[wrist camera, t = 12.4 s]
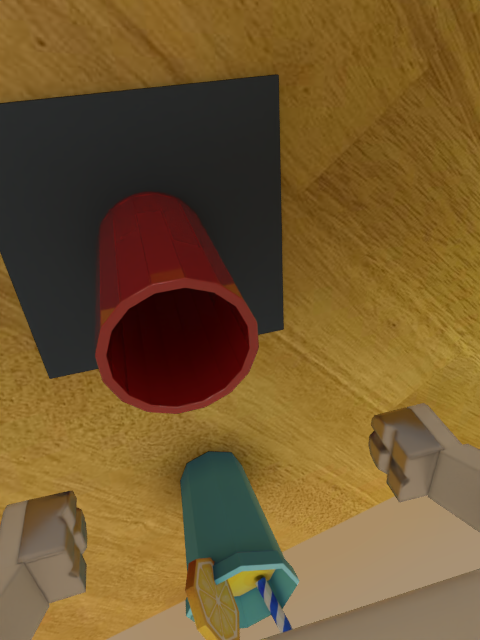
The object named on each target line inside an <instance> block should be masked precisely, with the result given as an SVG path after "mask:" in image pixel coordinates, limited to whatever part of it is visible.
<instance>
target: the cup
mask: <svg viewBox="0 0 480 640" xmlns="http://www.w3.org/2000/svg"><path fill="white" fill-rule="evenodd" d="M180 482H181V495H182V508H183V522H184V535H185V548H186V561H187V580H186V588H185V591H186V595H187V598H186V616H187V617H188V618H190V619H191V620H193V621H194V622H195V624H196V627H197V630H198V631H199V632H200V633H201V634H202V636H203V637H204V638H205V639H206V640H240V639H239V638H240V637H239V628H248V627H249V626H251V625H253V624H255V623H257V622H259V621H261V620H262V619H264V618H266V617H268V616H270V615H272V617H273V619H274V621H275V623H276V625H277V627H278V628H279V630H280V632H281V633H283V632H286V631H289V630H292V627H291V625H290V623H289V621H288V619H287V617H286V616H285V614H284V612H283V610H282V609H283V607H284V605H285V603H286V602H287V601H288V599H289V597H290V596H291V594H292V593H293V591H294V589H295V588H296V586H297V584H298V582H299V579H298V577H297V575H296V573H295V571H294V570H293V568H292V566H291V565H289V563H288V562H287V561H286V560H285V559H284V557H283V554H282V552H281V550H280V548H279V546H278V543H277V541H276V539H275V537H274V535H273V532H272V530H271V528H270V526H269V524H268V522H267V519H266V517H265V515H264V513H263V511H262V509H261V506H260V504H259V502H258V500H257V498H256V495H255V493H254V491H253V489H252V487H251V485H250V482H249V480H248V478H247V476H246V474H245V471H244V469H243V467H242V465H241V464H240V463H239V461H238V460H237V459H236V458H235V456H234V455H233V454H232V453H231V452H209V451H208V452H207V453H205V454H203V455H201V456H199V457H198V458H196V459H194V460H192V461H190V462H189V463H187V465H186V467H185V470H184V472H183V475H182V478H181V480H180Z"/></svg>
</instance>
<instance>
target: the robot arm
mask: <svg viewBox="0 0 480 640" xmlns="http://www.w3.org/2000/svg"><path fill="white" fill-rule="evenodd" d="M371 426H372V428H373V429H374V431H373V433H372V434H371V435H370V436H369V449H370V454H371V457H372V459H373V461H374V463H375V465H376V466H377V468H378V469H379V470H381V471H383V472H384V473H386V474H387V484H388V485H389V487H390V489H391V490H392V492H393V493H394V495H395V496H396V498H397V499H398V501H399V502H403V501H407V500H411V499H415V498H419V497H422V496H427V495H428V497H429V498H430V499H432V500H433V501H435V502H436V503H437V504H439V505H440V506H442V507H443V508H445V509H446V510H448V511H449V512H451V513H452V514H454V515H455V516H456V517H458V518H459V519H461V520H462V521H464V522H465V523H467V524H468V525H470V526H471V527H472V528H474V529H475V530H477V531H478V532H480V449H477V448H475V447H473V446H471V445H469V444H464V445H462V444H461V443H460V441H459V440H458V439H457V438H456V437H455V436H454V435H453V433H452V432H451V431H450V430H449V429H448V428H447V427H446V426H445V424H444V423H443V422H442V421H441V420H440V419H439V418H438V416H437V415H436V414H435V413H434V412H433V411H432V410H431V408H430V407H429V406H428V405H426V404H424V403H422V404H418V405H414V406H410V407H407V408H405V407H404V408H401V409H397V410H393V411H389V412H385V413H382V414H378V415H374V417H373V418H372V421H371ZM76 502H77V498H76V496H75V494H74V492H73V491H67V492H63V493H58V494H54V495H49V496H45V497H40V498H36V499H31V500H27V501H23V502H18V503H14V504H10V505H7V507H6V508H5V510H4V512H3V517H2V522H1V526H0V640H31V639H32V637H33V635H34V634H35V632H36V630H37V628H38V626H39V624H40V622H41V621H42V619H43V617H44V615H45V613H46V611H47V609H48V608H49V603H52V602H55V601H58V600H61V599H65V598H68V597H71V596H74V595H77V594H81V593H84V592H86V563H85V560H84V558H83V556H82V554H83V553H84V551H85V550H86V548H87V530H86V522H85V518H84V515H83V512H82V510H81V509H79V508H77V507H76ZM261 640H480V569H477V570H474V571H471V572H468V573H465V574H462V575H459V576H456V577H452V578H450V579H446V580H443V581H440V582H437V583H434V584H431V585H428V586H425V587H422V588H419V589H415V590H412V591H409V592H406V593H403V594H400V595H397V596H394V597H391V598H388V599H385V600H382V601H378V602H376V603H372V604H369V605H366V606H363V607H360V608H357V609H354V610H351V611H348V612H345V613H341V614H338V615H335V616H332V617H329V618H326V619H323V620H320V621H317V622H314V623H311V624H308V625H304V626H301V627H298V628H295V629H292V630H289V631H286V632H283V633H280V634H277V635H273V636H270V637H268V638H264V639H261Z"/></svg>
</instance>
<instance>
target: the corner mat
mask: <svg viewBox="0 0 480 640" xmlns="http://www.w3.org/2000/svg"><path fill="white" fill-rule="evenodd" d="M142 192H160V193H165V194H168V195H172V196H174V197H176V198H178V199H180V200H182V201H183V202H185V203H186V204H187V205H188V206H189V207H191V209H192V210H193V211H194V212H195V213H196V214H197V216H198V218H199V219H200V221H201V223H202V225H203V226H204V228H205V230H206V232H207V233H208V235H209V237H210V239H211V240H212V242H213V244H214V246H215V248H216V249H217V251H218V253H219V255H220V257H221V258H222V260H223V262H224V264H225V265H226V267H227V269H228V271H229V273H230V274H231V276H232V278H233V280H234V282H235V283H236V285H237V287H238V289H239V290H240V292H241V294H242V296H243V298H244V299H245V301H246V303H247V305H248V307H249V308H250V310H251V312H252V314H253V315H254V317H255V319H256V321H257V325H258V335H259V334H264V333H269V332H274V331H278V330H283V329H284V324H283V274H282V223H281V172H280V121H279V75H267V76H258V77H248V78H239V79H229V80H219V81H210V82H200V83H191V84H181V85H171V86H162V87H152V88H143V89H133V90H123V91H114V92H104V93H94V94H85V95H75V96H66V97H56V98H46V99H37V100H27V101H18V102H8V103H0V252H1V255H2V258H3V260H4V263H5V265H6V268H7V270H8V273H9V276H10V278H11V281H12V283H13V286H14V288H15V291H16V293H17V296H18V299H19V301H20V304H21V306H22V309H23V311H24V314H25V317H26V319H27V322H28V324H29V327H30V329H31V332H32V335H33V337H34V340H35V342H36V345H37V347H38V350H39V353H40V355H41V358H42V360H43V363H44V365H45V368H46V371H47V373H48V376H49V378H50V379H52V378H56V377H61V376H66V375H70V374H75V373H80V372H85V371H89V370H94V369H99V368H98V365H97V361H96V358H95V302H96V244H97V236H98V231H99V227H100V225H101V222H102V220H103V219H104V217H105V215H106V214H107V213H108V211H109V210H110V209H111V208H112V207H113V206H114V205H115V204H117V203H118V202H119V201H121V200H123V199H124V198H126V197H128V196H131V195H134V194H138V193H142Z"/></svg>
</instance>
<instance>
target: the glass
mask: <svg viewBox="0 0 480 640" xmlns="http://www.w3.org/2000/svg"><path fill="white" fill-rule="evenodd" d="M258 348H259V342H258V325H257V321H256V319H255V317H254V315H253V314H252V312H251V310H250V308H249V307H248V305H247V303H246V301H245V299H244V298H243V296H242V294H241V292H240V290H239V289H238V287H237V285H236V283H235V282H234V280H233V278H232V276H231V274H230V273H229V271H228V269H227V267H226V265H225V264H224V262H223V260H222V258H221V257H220V255H219V253H218V251H217V249H216V248H215V246H214V244H213V242H212V240H211V239H210V237H209V235H208V233H207V232H206V230H205V228H204V226H203V225H202V223H201V221H200V219H199V218H198V216H197V214H196V213H195V212H194V211H193V210H192V209H191V207H189V206H188V205H187V204H186V203H185V202H183V201H182V200H180V199H178V198H176V197H174V196H172V195H168V194H165V193H160V192H142V193H138V194H134V195H131V196H128V197H126V198H124V199H123V200H121V201H119V202H118V203H117V204H115V205H114V206H113V207H112V208H111V209H110V210H109V211H108V213H107V214H106V215H105V217H104V219H103V220H102V222H101V225H100V227H99V231H98V236H97V244H96V302H95V358H96V361H97V365H98V368H99V371H100V374H101V378H102V381H103V382H104V383H105V384H106V385H107V387H108V388H109V389H110V390H111V391H112V392H113V393H114V394H115V395H116V396H117V397H118V398H119V399H120V400H121V401H123V402H125V403H127V404H130V405H132V406H134V407H137V408H139V409H142V410H144V411H147V412H155V413H171V414H179V413H183V412H187V411H191V410H195V409H200V408H204V407H205V406H206V407H207V406H208V405H210V404H212V403H214V402H215V401H217V400H219V399H221V398H222V397H224V396H226V395H228V394H229V393H230V392H232V391H233V390H234V389H235V387H236V386H237V385H238V384H239V383H240V382H241V381H242V380H243V379H244V378H245V376H246V375H247V374H248V373H249V372H250V369H251V366H252V364H253V361H254V359H255V356H256V354H257V351H258Z"/></svg>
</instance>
